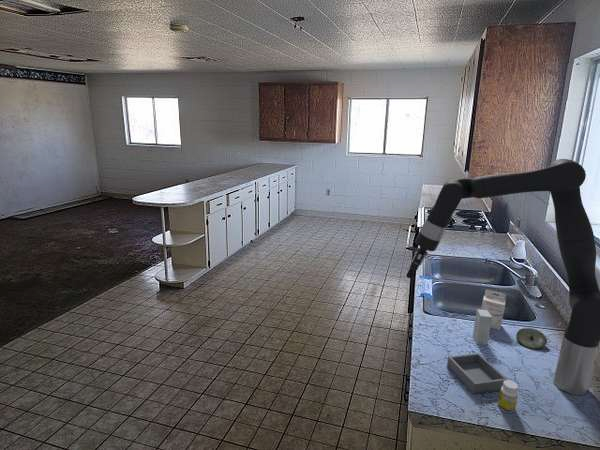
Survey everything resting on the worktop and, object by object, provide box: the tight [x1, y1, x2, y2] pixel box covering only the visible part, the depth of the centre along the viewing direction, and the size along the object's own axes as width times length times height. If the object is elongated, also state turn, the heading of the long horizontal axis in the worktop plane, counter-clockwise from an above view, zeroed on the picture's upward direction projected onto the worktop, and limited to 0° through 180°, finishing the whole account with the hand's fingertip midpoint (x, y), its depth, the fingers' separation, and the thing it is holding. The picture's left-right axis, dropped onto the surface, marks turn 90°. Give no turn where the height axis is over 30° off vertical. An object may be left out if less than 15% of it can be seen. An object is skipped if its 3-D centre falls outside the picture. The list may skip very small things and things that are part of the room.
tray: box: [446, 352, 509, 396], centre depth 135 cm, size 12×15×4 cm
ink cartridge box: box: [480, 289, 507, 331], centre depth 168 cm, size 9×5×15 cm, turn 59°
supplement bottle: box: [497, 379, 519, 414], centre depth 120 cm, size 5×5×8 cm
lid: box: [515, 327, 548, 350], centre depth 156 cm, size 11×10×5 cm
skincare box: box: [472, 308, 492, 345], centre depth 156 cm, size 6×4×12 cm
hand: (410, 273), depth 144 cm, fingers open, 8 cm apart
